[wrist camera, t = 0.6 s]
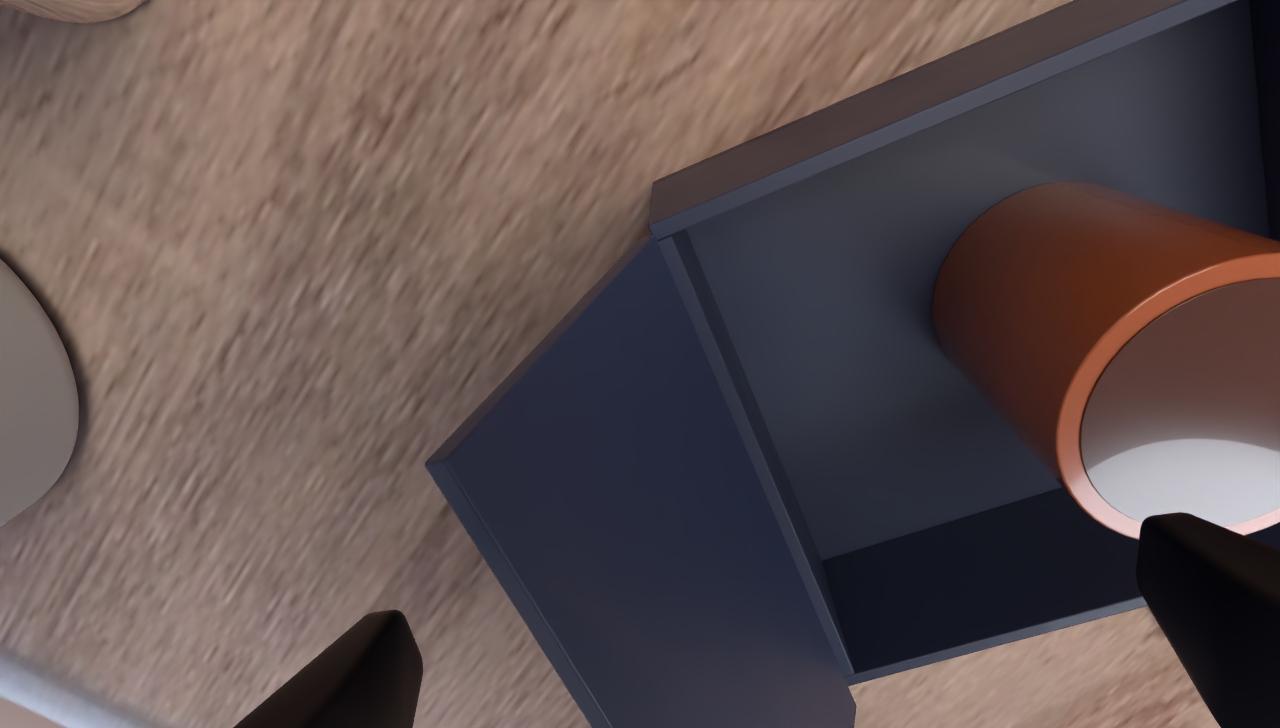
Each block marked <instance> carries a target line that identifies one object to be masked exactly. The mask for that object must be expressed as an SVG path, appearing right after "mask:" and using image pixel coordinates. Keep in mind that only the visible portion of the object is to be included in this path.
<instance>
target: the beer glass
mask: <svg viewBox="0 0 1280 728" xmlns="http://www.w3.org/2000/svg"><path fill="white" fill-rule="evenodd" d="M144 1H145V0H0V5H3V6H6V7H10V8H13V9H17V10H21V11H24V12H28V13H31V14H35V15H38V16H42V17H46V18H50V19H54V20H59V21H65V22H74V23H97V22H103V21H107V20H111V19H114V18H117V17H120V16H122V15H124V14H127V13H128V12H130V11H132V10H133V9H135V8H136V7H138V6H139V5H140V4H141V3H143V2H144Z"/></svg>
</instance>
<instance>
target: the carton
mask: <svg viewBox="0 0 1280 728" xmlns="http://www.w3.org/2000/svg"><path fill="white" fill-rule="evenodd" d="M1061 181H1086V182H1092V183H1097V184H1102V185H1105V186H1108V187H1111V188H1115V189H1118V190H1121V191H1124V192H1127V193H1130V194H1133V195H1136V196H1139V197H1142V198H1146V199H1149V200H1152V201H1155V202H1158V203H1161V204H1164V205H1167V206H1170V207H1173V208H1177V209H1180V210H1183V211H1186V212H1189V213H1192V214H1195V215H1198V216H1201V217H1204V218H1208V219H1211V220H1214V221H1217V222H1220V223H1223V224H1226V225H1229V226H1232V227H1235V228H1239V229H1242V230H1245V231H1248V232H1251V233H1254V234H1257V235H1260V236H1263V237H1266V238H1270V239H1273V240H1276V241H1279V242H1280V0H1074V1H1071V2H1069V3H1067V4H1065V5H1062V6H1060V7H1058V8H1055V9H1053V10H1051V11H1048V12H1046V13H1044V14H1041V15H1039V16H1037V17H1034V18H1032V19H1030V20H1027V21H1025V22H1023V23H1021V24H1018V25H1016V26H1014V27H1011V28H1009V29H1007V30H1004V31H1002V32H1000V33H997V34H995V35H993V36H990V37H988V38H986V39H983V40H981V41H979V42H977V43H974V44H972V45H970V46H967V47H965V48H963V49H960V50H958V51H956V52H953V53H951V54H949V55H946V56H944V57H942V58H939V59H937V60H935V61H933V62H930V63H928V64H926V65H923V66H921V67H919V68H916V69H914V70H912V71H909V72H907V73H905V74H902V75H900V76H898V77H895V78H893V79H891V80H889V81H886V82H884V83H882V84H879V85H877V86H875V87H872V88H870V89H868V90H865V91H863V92H861V93H858V94H856V95H854V96H851V97H849V98H847V99H845V100H842V101H840V102H838V103H835V104H833V105H831V106H828V107H826V108H824V109H821V110H819V111H817V112H814V113H812V114H810V115H807V116H805V117H803V118H801V119H798V120H796V121H794V122H791V123H789V124H787V125H784V126H782V127H780V128H777V129H775V130H773V131H770V132H768V133H766V134H763V135H761V136H759V137H757V138H754V139H752V140H750V141H747V142H745V143H743V144H740V145H738V146H736V147H733V148H731V149H729V150H726V151H724V152H722V153H719V154H717V155H715V156H713V157H710V158H708V159H706V160H703V161H701V162H699V163H696V164H694V165H692V166H689V167H687V168H685V169H682V170H680V171H678V172H675V173H673V174H671V175H669V176H666V177H664V178H662V179H659V180H657V181H655V182H653V190H652V200H651V209H650V218H649V229H650V231H651V234H652V235H655V237H656V239H657V242H658V244H659V246H660V249H661V251H662V253H663V256H664V258H665V260H666V263H667V265H668V267H669V270H670V272H671V274H672V277H673V279H674V281H675V284H676V286H677V288H678V291H679V293H680V295H681V298H682V300H683V302H684V305H685V307H686V309H687V312H688V314H689V316H690V319H691V321H692V323H693V326H694V328H695V330H696V333H697V335H698V337H699V340H700V342H701V344H702V347H703V349H704V351H705V354H706V356H707V358H708V361H709V363H710V365H711V368H712V370H713V372H714V375H715V377H716V379H717V382H718V384H719V386H720V389H721V391H722V393H723V396H724V398H725V400H726V403H727V405H728V407H729V410H730V412H731V414H732V417H733V419H734V421H735V424H736V426H737V429H738V431H739V433H740V436H741V438H742V440H743V443H744V445H745V447H746V450H747V452H748V454H749V457H750V459H751V461H752V464H753V466H754V468H755V471H756V473H757V475H758V478H759V480H760V482H761V485H762V487H763V489H764V492H765V494H766V496H767V499H768V501H769V503H770V506H771V508H772V510H773V513H774V515H775V517H776V520H777V522H778V524H779V527H780V529H781V531H782V534H783V536H784V538H785V541H786V543H787V545H788V548H789V550H790V552H791V555H792V557H793V559H794V562H795V564H796V566H797V569H798V571H799V573H800V576H801V578H802V580H803V583H804V585H805V587H806V590H807V592H808V594H809V597H810V599H811V601H812V604H813V606H814V608H815V611H816V613H817V615H818V618H819V620H820V622H821V625H822V627H823V629H824V632H825V634H826V636H827V639H828V641H829V643H830V646H831V648H832V650H833V653H834V655H835V657H836V660H837V662H838V664H839V667H840V669H841V671H842V674H843V676H844V678H845V681H846V683H847V685H848V686H850V685H854V684H858V683H861V682H865V681H869V680H872V679H876V678H880V677H884V676H887V675H891V674H895V673H899V672H902V671H906V670H910V669H913V668H917V667H921V666H925V665H928V664H932V663H936V662H940V661H943V660H947V659H951V658H954V657H958V656H962V655H966V654H969V653H973V652H977V651H981V650H984V649H988V648H992V647H995V646H999V645H1003V644H1007V643H1010V642H1014V641H1018V640H1021V639H1025V638H1029V637H1033V636H1036V635H1040V634H1044V633H1048V632H1051V631H1055V630H1059V629H1062V628H1066V627H1070V626H1074V625H1077V624H1081V623H1085V622H1089V621H1092V620H1096V619H1100V618H1103V617H1107V616H1111V615H1115V614H1118V613H1122V612H1126V611H1130V610H1133V609H1137V608H1141V607H1144V606H1148V605H1147V603H1146V601H1145V600H1144V598H1143V596H1142V594H1141V592H1140V590H1139V587H1138V584H1137V580H1136V564H1137V555H1138V546H1139V540H1138V539H1135V538H1131V537H1128V536H1125V535H1122V534H1120V533H1118V532H1116V531H1113V530H1111V529H1109V528H1107V527H1105V526H1104V525H1102V524H1100V523H1099V522H1097V521H1096V520H1094V519H1093V518H1092V517H1090V516H1089V515H1088V514H1087V513H1086V512H1085V511H1084V510H1083V509H1082V508H1080V507H1079V505H1078V504H1077V503H1076V502H1075V501H1074V500H1073V499H1072V498H1071V496H1070V495H1069V494H1068V493H1067V492H1066V491H1065V490H1064V489H1063V487H1062V486H1061V485H1060V484H1059V483H1058V482H1057V481H1056V480H1055V478H1054V477H1053V476H1052V475H1051V474H1050V473H1049V472H1048V471H1047V469H1046V468H1045V467H1044V466H1043V465H1042V464H1041V463H1040V462H1039V460H1038V459H1037V458H1036V457H1035V456H1034V455H1033V454H1032V453H1031V451H1030V450H1029V449H1028V448H1027V447H1026V446H1025V445H1024V444H1023V442H1022V441H1021V440H1020V439H1019V438H1018V437H1017V436H1016V435H1015V433H1014V432H1013V431H1012V430H1011V429H1010V428H1009V427H1008V426H1007V424H1006V423H1005V422H1004V421H1003V420H1002V419H1001V418H1000V417H999V415H998V414H997V413H996V412H995V411H994V410H993V409H992V408H991V406H990V405H989V404H988V403H987V402H986V401H985V400H984V399H983V398H982V396H981V395H980V394H979V393H978V392H977V391H976V390H975V389H974V387H973V386H972V385H971V384H970V383H969V382H968V381H967V380H966V378H965V377H964V376H963V375H962V374H961V373H960V372H959V371H958V369H957V368H956V367H955V366H954V365H953V364H952V362H951V361H950V360H949V359H948V357H947V356H946V355H945V353H944V351H943V349H942V348H941V346H940V344H939V341H938V338H937V336H936V333H935V328H934V323H933V311H932V305H933V294H934V290H935V285H936V281H937V278H938V275H939V272H940V270H941V267H942V265H943V263H944V261H945V259H946V257H947V255H948V253H949V252H950V250H951V249H952V247H953V246H954V244H955V243H956V241H957V240H958V239H959V237H960V236H961V235H962V234H963V233H964V232H965V230H966V229H967V228H968V227H969V226H970V225H971V224H972V223H973V222H974V221H975V220H976V219H978V218H979V217H980V216H981V215H982V214H984V213H985V212H986V211H988V210H989V209H990V208H992V207H993V206H994V205H996V204H998V203H999V202H1001V201H1003V200H1004V199H1006V198H1008V197H1010V196H1012V195H1014V194H1017V193H1019V192H1021V191H1023V190H1026V189H1029V188H1032V187H1035V186H1038V185H1043V184H1048V183H1053V182H1061ZM1245 536H1246V537H1249V538H1251V539H1254V540H1256V541H1259V542H1261V543H1264V544H1266V545H1269V546H1271V547H1274V548H1276V549H1279V550H1280V522H1279V523H1277V524H1275V525H1272V526H1270V527H1268V528H1265V529H1263V530H1260V531H1257V532H1254V533H1251V534H1248V535H1245Z"/></svg>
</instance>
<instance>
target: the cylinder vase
mask: <svg viewBox="0 0 1280 728" xmlns="http://www.w3.org/2000/svg"><path fill="white" fill-rule="evenodd" d="M78 424H79V401H78V393H77V387H76V382H75V378H74V374H73V370H72V367H71V364H70V361H69V358H68V355H67V353H66V350H65V348H64V346H63V343H62V341H61V339H60V337H59V335H58V333H57V331H56V329H55V328H54V326H53V324H52V322H51V321H50V319H49V317H48V316H47V314H46V313H45V311H44V310H43V308H42V307H41V305H40V304H39V302H38V301H37V300H36V298H35V297H34V296H33V294H32V293H31V292H30V291H29V289H28V288H27V287H26V286H25V284H24V283H23V282H22V281H21V280H20V279H19V278H18V276H17V275H16V274H15V273H14V272H13V271H12V270H11V269H10V268H9V267H8V266H7V265H6V264H5V263H4V262H3V261H2V260H1V259H0V527H1V526H3V525H4V524H6V523H7V522H8V521H10V520H11V519H13V518H14V517H15V516H17V515H18V514H20V513H21V512H22V511H24V510H25V509H26V508H28V507H29V506H31V505H32V504H33V503H35V502H36V501H37V500H38V499H40V498H41V497H42V496H43V495H44V494H45V493H46V492H47V491H48V490H49V489H50V488H51V487H52V486H53V485H54V484H55V482H56V481H57V480H58V478H59V477H60V476H61V474H62V473H63V471H64V469H65V467H66V466H67V464H68V461H69V459H70V457H71V455H72V452H73V449H74V446H75V442H76V438H77V432H78Z"/></svg>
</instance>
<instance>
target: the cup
mask: <svg viewBox="0 0 1280 728" xmlns="http://www.w3.org/2000/svg"><path fill="white" fill-rule="evenodd" d="M932 311H933V323H934V328H935V333H936V336H937V338H938V341H939V344H940V346H941V348H942V349H943V351H944V353H945V355H946V356H947V357H948V359H949V360H950V361H951V362H952V364H953V365H954V366H955V367H956V368H957V369H958V371H959V372H960V373H961V374H962V375H963V376H964V377H965V378H966V380H967V381H968V382H969V383H970V384H971V385H972V386H973V387H974V389H975V390H976V391H977V392H978V393H979V394H980V395H981V396H982V398H983V399H984V400H985V401H986V402H987V403H988V404H989V405H990V406H991V408H992V409H993V410H994V411H995V412H996V413H997V414H998V415H999V417H1000V418H1001V419H1002V420H1003V421H1004V422H1005V423H1006V424H1007V426H1008V427H1009V428H1010V429H1011V430H1012V431H1013V432H1014V433H1015V435H1016V436H1017V437H1018V438H1019V439H1020V440H1021V441H1022V442H1023V444H1024V445H1025V446H1026V447H1027V448H1028V449H1029V450H1030V451H1031V453H1032V454H1033V455H1034V456H1035V457H1036V458H1037V459H1038V460H1039V462H1040V463H1041V464H1042V465H1043V466H1044V467H1045V468H1046V469H1047V471H1048V472H1049V473H1050V474H1051V475H1052V476H1053V477H1054V478H1055V480H1056V481H1057V482H1058V483H1059V484H1060V485H1061V486H1062V487H1063V489H1064V490H1065V491H1066V492H1067V493H1068V494H1069V495H1070V496H1071V498H1072V499H1073V500H1074V501H1075V502H1076V503H1077V504H1078V505H1079V507H1080V508H1082V509H1083V510H1084V511H1085V512H1086V513H1087V514H1088V515H1089V516H1090V517H1092V518H1093V519H1094V520H1096V521H1097V522H1099V523H1100V524H1102V525H1104V526H1105V527H1107V528H1109V529H1111V530H1113V531H1116V532H1118V533H1120V534H1122V535H1125V536H1128V537H1131V538H1135V539H1138V540H1139V536H1140V528H1141V524H1142V522H1143V521H1144V519H1145V518H1147V517H1149V516H1153V515H1161V514H1169V513H1177V512H1184V513H1189V514H1192V515H1194V516H1197V517H1199V518H1202V519H1204V520H1207V521H1209V522H1212V523H1214V524H1217V525H1219V526H1222V527H1224V528H1227V529H1229V530H1231V531H1234V532H1236V533H1239V534H1241V535H1244V536H1245V535H1248V534H1251V533H1254V532H1257V531H1260V530H1263V529H1265V528H1268V527H1270V526H1272V525H1275V524H1277V523H1279V522H1280V242H1279V241H1276V240H1273V239H1270V238H1266V237H1263V236H1260V235H1257V234H1254V233H1251V232H1248V231H1245V230H1242V229H1239V228H1235V227H1232V226H1229V225H1226V224H1223V223H1220V222H1217V221H1214V220H1211V219H1208V218H1204V217H1201V216H1198V215H1195V214H1192V213H1189V212H1186V211H1183V210H1180V209H1177V208H1173V207H1170V206H1167V205H1164V204H1161V203H1158V202H1155V201H1152V200H1149V199H1146V198H1142V197H1139V196H1136V195H1133V194H1130V193H1127V192H1124V191H1121V190H1118V189H1115V188H1111V187H1108V186H1105V185H1102V184H1097V183H1092V182H1086V181H1061V182H1053V183H1048V184H1043V185H1038V186H1035V187H1032V188H1029V189H1026V190H1023V191H1021V192H1019V193H1017V194H1014V195H1012V196H1010V197H1008V198H1006V199H1004V200H1003V201H1001V202H999V203H998V204H996V205H994V206H993V207H992V208H990V209H989V210H988V211H986V212H985V213H984V214H982V215H981V216H980V217H979V218H978V219H976V220H975V221H974V222H973V223H972V224H971V225H970V226H969V227H968V228H967V229H966V230H965V232H964V233H963V234H962V235H961V236H960V237H959V239H958V240H957V241H956V243H955V244H954V246H953V247H952V249H951V250H950V252H949V253H948V255H947V257H946V259H945V261H944V263H943V265H942V267H941V270H940V272H939V275H938V278H937V281H936V285H935V290H934V294H933V305H932Z"/></svg>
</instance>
